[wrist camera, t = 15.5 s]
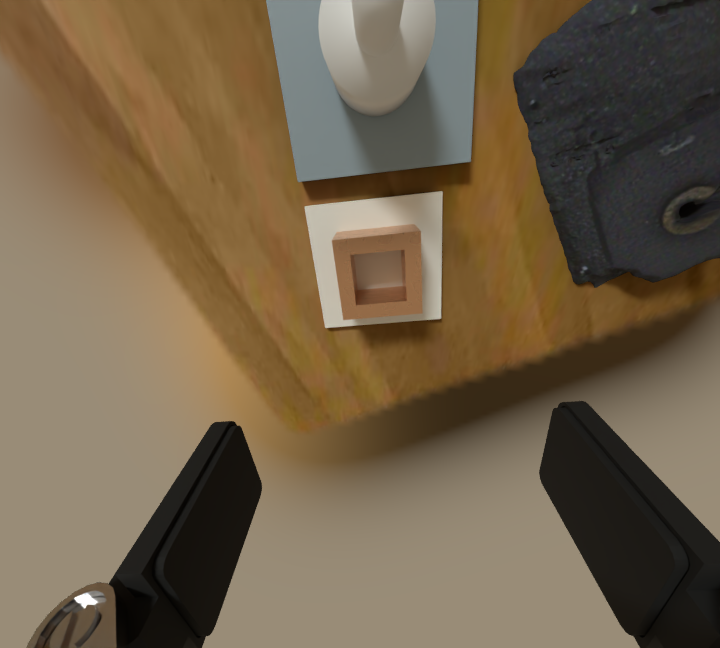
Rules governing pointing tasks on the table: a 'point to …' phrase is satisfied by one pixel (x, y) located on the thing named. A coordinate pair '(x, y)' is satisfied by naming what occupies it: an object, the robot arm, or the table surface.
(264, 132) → the table surface
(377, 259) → the white mat
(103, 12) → the table surface
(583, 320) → the table surface
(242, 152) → the table surface
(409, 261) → the copper link
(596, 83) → the dark pouch with grommet
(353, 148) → the post stand
